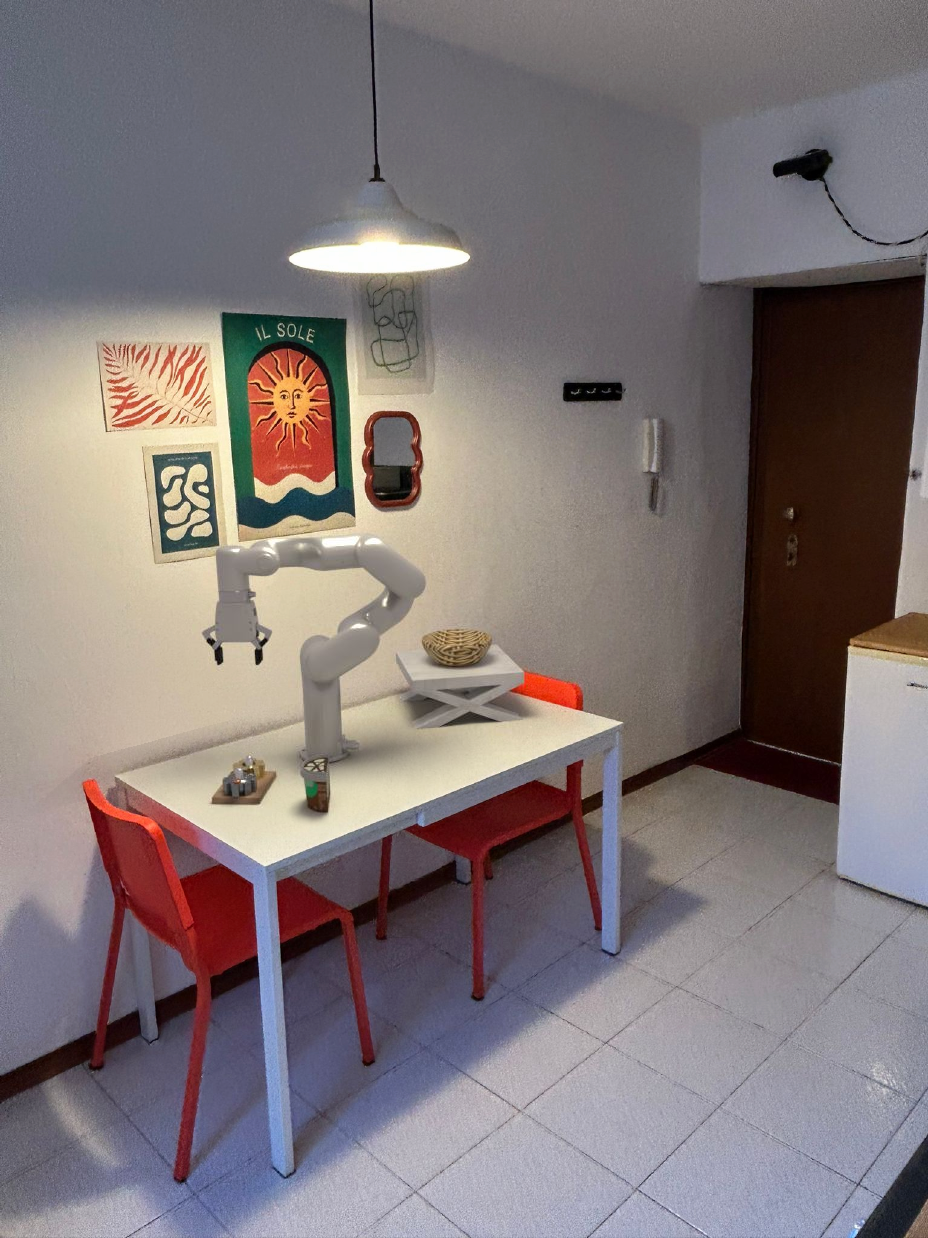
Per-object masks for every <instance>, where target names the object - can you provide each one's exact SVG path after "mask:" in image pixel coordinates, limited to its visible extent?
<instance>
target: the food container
mask: <svg viewBox="0 0 928 1238" xmlns="http://www.w3.org/2000/svg"><path fill="white" fill-rule="evenodd" d="M300 777H301V778H303V781H304V784H303V785H304V788H305V789H304V790H305V797H306V805H307V809H309V810H311V811H312V812H316V813H329V811H330V810H329V809H330V803H331V780H330V778H331V775H330V762H329V754H321V755H316V756H313V757H310V758H308V759H306V760H303V762H302V765H301V766H300Z"/></svg>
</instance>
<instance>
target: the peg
mask: <svg viewBox="0 0 928 1238" xmlns="http://www.w3.org/2000/svg"><path fill="white" fill-rule="evenodd" d="M253 758H254V757H253V756H252V755H250V754H249V755H246V756H245V758H244V759H245V763H246V766H253Z"/></svg>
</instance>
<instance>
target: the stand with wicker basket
mask: <svg viewBox="0 0 928 1238" xmlns="http://www.w3.org/2000/svg"><path fill="white" fill-rule="evenodd" d="M492 641H493V638H492V636H491V634H489V633H487V632H485V631H481V630H475V629H461V628H460V629H459V628H458V629H456V628H455V629H442V630H437V631H433V632H428V633H427V634H425V635H424V636H422V638H421V644H422V647H423V649H415V650H414V649H413V650H401V651H399V650H398V651H395V662H396V664H397V666H398V668H399V669H400V671H401V673H402V675H403V677H404V679H405V680H406V682H407V684H408V686H409V688H410V689H409V690H407V691H405V692H403V693H401V694H399V695H398V697H399V700H400V701H401V702H402V703H403V702H415V701H416V702H417V701H423V700H426V699H427V698H430V699H433V700H436V701H439V702H441V703H445V704H444V705H443V706H441V707H438V708H435V709H434V710H432V711H430V712H429V713H426V714H425V715H422V716H421V717H418V718H416V719H414V720H413V721H412V722H411V724H412V726H413V728H414V730H423V729H434V728H440V727H441V726H443V725H445V724H447V723H449V722H451V721H454V720H455V719H457V718H460V717H461V716H463V715H465V714H467V713H469V712H472V713H474V714H478V715H479V716H484V717H485V718H488V719H492V720H495V721H498V722H501V723H504V722H513V721H514V722H515V721H523V718H522V717H521V716H520V714H518V712H516V711H513V710H510V709H506V708H504V707H501V706H497V705H495V704H492V703H490V701H492V700H494V699H497V698H498V697H500V696H501V695H504V694H505V693H507V692H510V691H511V690H513V689H515V688H517V687H520V686H521V685H524V684H525V671H524V670H523V669H522V668H521V666H519V665H518V664H517V663H516V662H515V661H514V660H513V659H512V658H510V656H509V655H508V654H507V653H506V652H505V651H504V650H503V649H502V648H501V647H499V645H498V644H492ZM452 689H453V690H452ZM454 689H461V690H463V691H466V692H467V693H465V694H463V693H461V692H457V691H454ZM400 697H401V698H400Z"/></svg>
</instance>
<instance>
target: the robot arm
mask: <svg viewBox="0 0 928 1238" xmlns="http://www.w3.org/2000/svg"><path fill="white" fill-rule="evenodd" d="M215 565H216V566H215V567H216V579H217V590H218V591H217V592H218V593H217V594H218V601H217V602H216V605H215V606H216V607H215V614H214V615H215V616H214V624H213V625H212V626H209V627H208V628H206V629H204V630H203V631H202V632H201V634H202V636H203V638H204V640H205V641H206V643H207V644H208V645H209V646H210V647H211V648H212V650H213V651H214V653H213V654H214V661H215V662H216V665H217V666H221V665H222V664H223V663H224V652H223V651H224V650H223V647H222V646H221V645H222V644H223V643H251V644H252V645H253V646H254V647H255V649H254V664H255V665H256V666H259V665H260V664H261V663H262V662H263V661H264V652H263V651H264V650H263V647H264V646H265V645H266V644H267V643H268V642H269V640H270V638H271V636H272V634H273V630H272V629H270V628H268V627H265V626H263V625H261V624H260V623H259V617H258V611H257V607H256V603H255V600H253V599H252V598H256V597H257V592H256V591H252V590H251V589H252V588H251V587H250V576H254V577H269V576H272V575H274V574H276V573H277V571H278V570H279V569H282V568H305V569H309V570H313V571H318V572H327V571H337V570H347V569H348V570H349V569H361V568H362V569H364V570H365V571H366V572H367V573H368V574H370V576H372V577H373V578H375V579H376V580H377V581H378V582H380V584H382V585H383V586H384V589H383V591H382V592H381V593H380V594H379V595H378V596H377V597H375V598H374V599H373V600H372V601H371V602H370V603H368V604H366V605H364V606H363V607H361V608H360V609H358V610H357V611H355V612H353V613H352V614H349V615H348V616H346V617H345V618H343V619H342V620H341V622H339V624H338V627H337V631H336V632H337V633H336V634H335V635H333V636H332V637H331V638H329V636H326V635H323V634H316V635H313V636H310V637H308V638H307V639H306V640H305V641H304V642H303V644H302V646H301V647H300V651H299V652H300V653H299V661H300V663H299V665H300V672H301V684H302V685H301V686H302V696H303V697H302V702H303V718H304V719H303V721H304V724H303V725H304V738H305V746H303V748H302V749H301V750H299V756H300V758H301V759H302V760H303V761H305V760H306V759H308V758H310V757H313V756H316V755H321V754H329V763H333V762H338V761H341V760H343V759H344V758H346V757H348V755H349V753H350V750H354V751H355V750H357V751H358V750H360V742H359V741H357V739H350V740H349V739H347V738H346V734H344V733H343V723H342V722H343V721H342V705H341V704H342V702H341V682H340V677H342V676H343V675H345V674H347V673H348V672H350V671H351V670H353V669H355V668H356V667H357V666H359V665H361V664H362V663H364V662H366V661H367V660H368V659H370V658H371V657H372V656H373V654H375V653H376V651H377V650H378V648H379V646H380V640H381V639H380V637H381V636H382V635H384V634H385V633H386V632H388V631H390V630H391V629H392V628H394V627H395V626H396V625H398V624H399V623H401V622H402V621H403V620H404V619H405V617H407V615H408V614H409V612H410V610H411V608H412V606H413V605H414V601H415V599H417V598H419V597H420V596H422V594H423V593H424V591H425V590H426V589H425V588H426V586H427V582H426V581H427V580H426V576H425V574H424V572H423V571H422V570H421V569H420V568H419V567H417V566H416V565H415V564H414V563H412V562H411V561H409V560H408V559H407V558H405V557H404V556H403V555H402V554H400V553H399V552H398V551H396V550H395V549H394V548H393V547H392V546H391V545H390V544H388V543H387V542H386V541H385V540H384V539H383V538H381V537H380V536H379V535H378V534H374V533H354V534H343V535H331V536H329V535H328V536H309V537H285V538H272V539H265V540H259V541H256V542H254V543H253V544H251V545H250V547H247V548H246V547H245V546H242V545H224V546H220V547H218V548H217V549H216V551H215ZM213 632H214V633H215V634H214V635H215V639H214V637H212V635H211V633H213ZM260 632H261V633H260ZM260 634H264V637H263V638H262V640H261V639H260V637H259V636H260Z"/></svg>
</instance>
